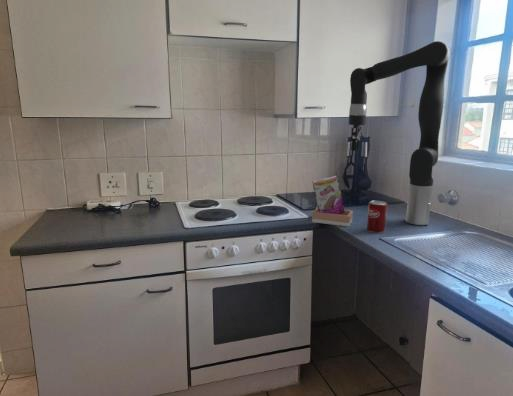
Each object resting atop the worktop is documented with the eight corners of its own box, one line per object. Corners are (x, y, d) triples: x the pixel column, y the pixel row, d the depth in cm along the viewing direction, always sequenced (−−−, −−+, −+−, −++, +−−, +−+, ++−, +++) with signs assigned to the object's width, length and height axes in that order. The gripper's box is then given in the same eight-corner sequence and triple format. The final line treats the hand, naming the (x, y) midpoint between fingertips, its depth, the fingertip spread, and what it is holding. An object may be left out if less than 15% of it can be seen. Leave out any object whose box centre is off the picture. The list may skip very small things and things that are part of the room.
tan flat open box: (352, 220, 171) (352, 210, 170) (348, 226, 162) (349, 216, 161) (317, 216, 177) (317, 206, 176) (312, 221, 168) (312, 212, 167)
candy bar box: (320, 218, 168) (312, 183, 164) (319, 214, 173) (311, 180, 169) (345, 213, 166) (338, 177, 162) (344, 209, 171) (336, 174, 167)
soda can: (372, 234, 153) (375, 205, 150) (363, 228, 160) (365, 200, 157) (388, 232, 155) (391, 204, 152) (378, 227, 162) (381, 200, 159)
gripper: (351, 113, 183) (348, 147, 187) (347, 114, 170) (344, 150, 174) (367, 114, 180) (364, 148, 184) (364, 114, 167) (361, 151, 171)
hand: (354, 149), depth 179 cm, fingers open, 8 cm apart
